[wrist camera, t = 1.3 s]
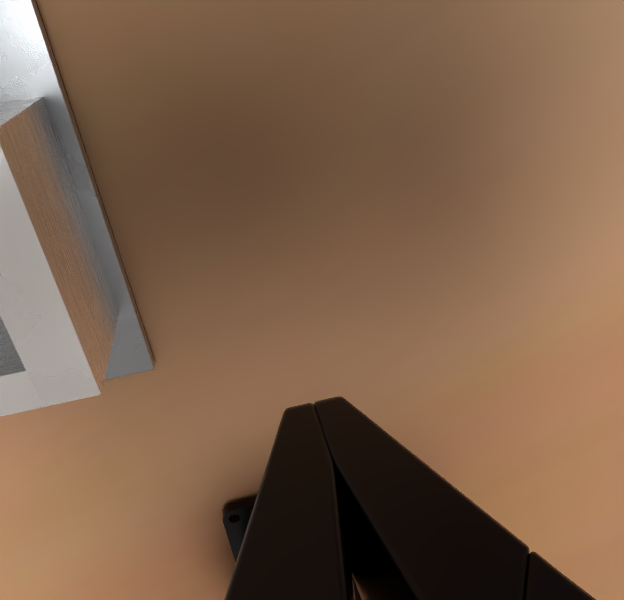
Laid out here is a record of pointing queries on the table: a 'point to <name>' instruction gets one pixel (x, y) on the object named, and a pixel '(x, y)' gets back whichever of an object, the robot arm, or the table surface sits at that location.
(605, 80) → the table surface
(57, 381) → the block
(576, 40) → the table surface
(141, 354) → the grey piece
